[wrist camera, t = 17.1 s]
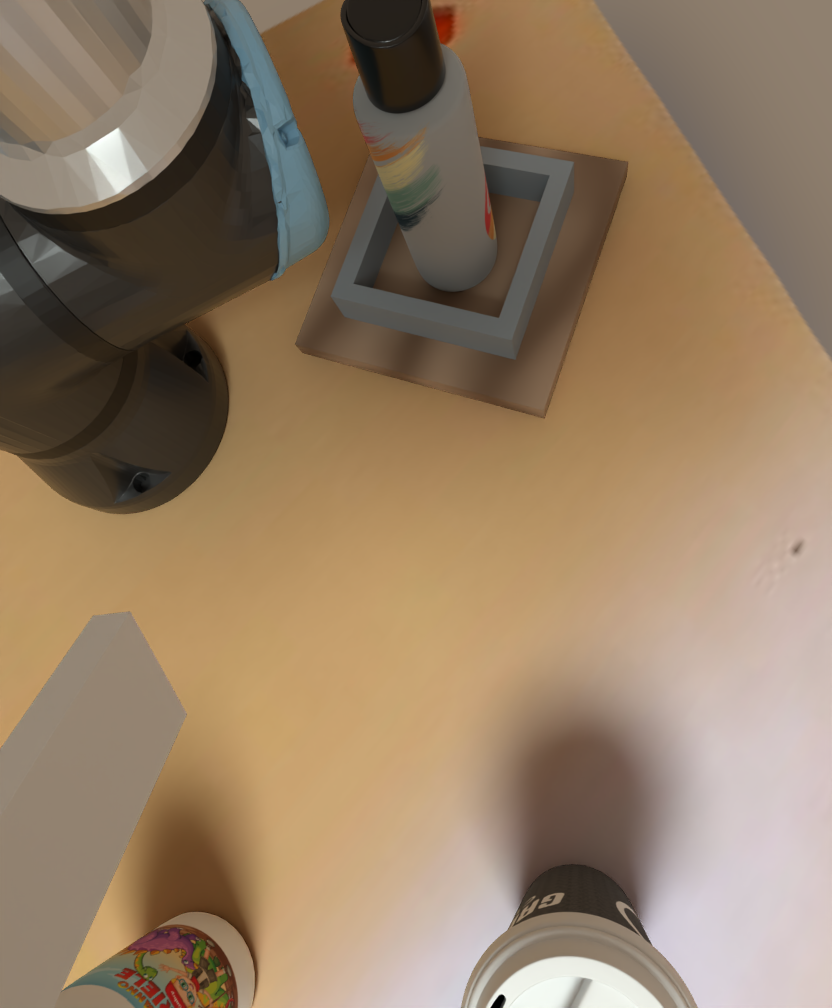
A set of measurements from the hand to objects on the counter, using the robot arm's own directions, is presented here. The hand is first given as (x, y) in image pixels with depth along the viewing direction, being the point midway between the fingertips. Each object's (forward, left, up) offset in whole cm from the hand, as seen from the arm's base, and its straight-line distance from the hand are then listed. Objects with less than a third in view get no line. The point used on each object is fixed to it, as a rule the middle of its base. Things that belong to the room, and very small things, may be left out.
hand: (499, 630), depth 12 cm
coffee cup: (+6, -14, -33) cm, 36 cm away
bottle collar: (-14, +23, -31) cm, 41 cm away
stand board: (-14, +23, -33) cm, 42 cm away
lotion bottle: (-14, +23, -31) cm, 41 cm away
